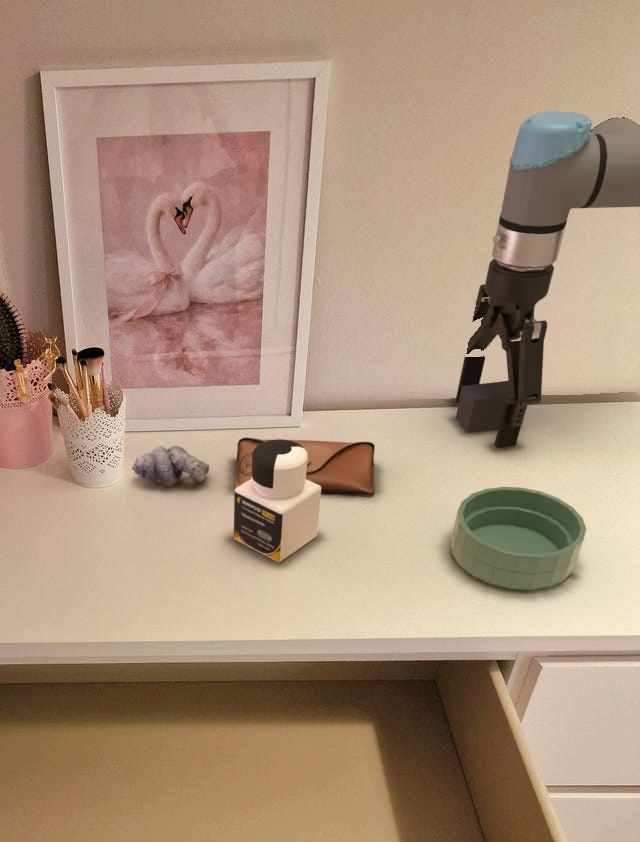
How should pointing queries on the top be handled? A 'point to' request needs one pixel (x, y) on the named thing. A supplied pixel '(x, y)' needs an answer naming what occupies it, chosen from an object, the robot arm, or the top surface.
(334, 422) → the top surface
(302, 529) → the medicine bottle
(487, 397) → the eraser
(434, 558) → the top surface
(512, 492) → the bowl
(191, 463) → the seashell
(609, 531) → the top surface
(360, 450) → the sunglasses case
